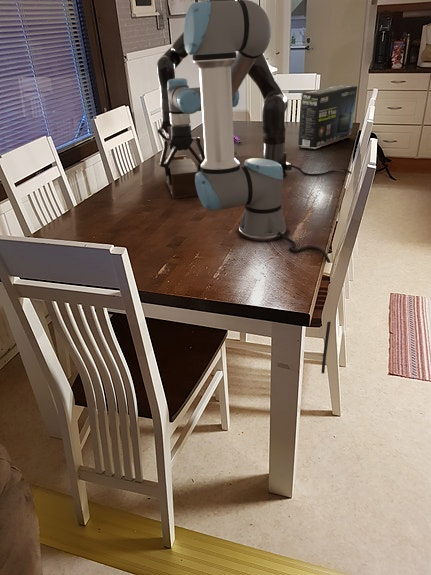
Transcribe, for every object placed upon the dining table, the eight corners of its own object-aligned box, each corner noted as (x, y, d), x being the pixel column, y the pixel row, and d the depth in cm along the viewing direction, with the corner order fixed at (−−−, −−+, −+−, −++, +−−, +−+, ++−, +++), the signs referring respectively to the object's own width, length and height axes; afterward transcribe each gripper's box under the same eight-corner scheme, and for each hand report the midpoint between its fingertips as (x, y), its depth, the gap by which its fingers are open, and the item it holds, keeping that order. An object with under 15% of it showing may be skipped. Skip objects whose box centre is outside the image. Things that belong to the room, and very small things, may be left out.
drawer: (163, 171, 207) (162, 153, 203) (185, 169, 209) (183, 151, 205) (170, 187, 188) (169, 168, 184) (194, 185, 190) (193, 166, 186)
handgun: (220, 136, 265) (220, 133, 264) (233, 135, 266) (233, 132, 265) (227, 145, 248) (227, 141, 247) (241, 143, 249) (241, 140, 248)
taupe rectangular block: (167, 183, 195) (164, 160, 190) (192, 181, 197) (190, 158, 192) (173, 198, 180) (171, 174, 175) (200, 195, 182) (199, 171, 177)
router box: (314, 151, 231) (318, 94, 217) (296, 148, 237) (299, 92, 224) (352, 138, 251) (358, 85, 238) (335, 135, 258) (340, 83, 245)
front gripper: (209, 119, 175) (211, 176, 186) (148, 125, 171) (154, 182, 182) (213, 123, 168) (215, 181, 180) (150, 129, 164) (156, 188, 176)
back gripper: (183, 106, 196) (186, 147, 205) (153, 108, 194) (157, 149, 203) (186, 109, 190) (189, 151, 199) (155, 111, 188) (159, 154, 197)
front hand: (184, 182), depth 181 cm, fingers closed on taupe rectangular block, 11 cm apart
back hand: (173, 150), depth 201 cm, fingers closed
